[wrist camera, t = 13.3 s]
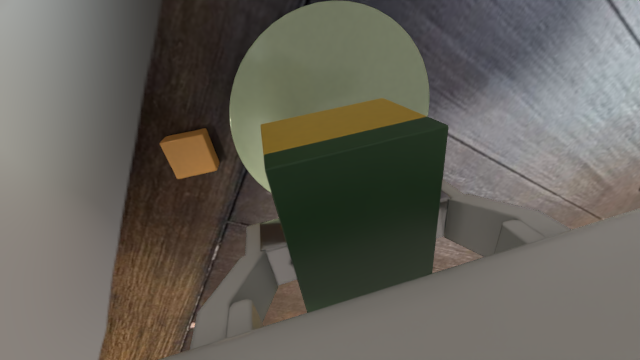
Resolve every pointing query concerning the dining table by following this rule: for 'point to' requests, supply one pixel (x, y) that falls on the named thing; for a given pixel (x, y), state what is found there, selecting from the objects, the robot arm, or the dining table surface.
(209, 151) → the orange square block
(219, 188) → the dining table surface
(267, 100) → the plate
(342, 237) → the sponge
